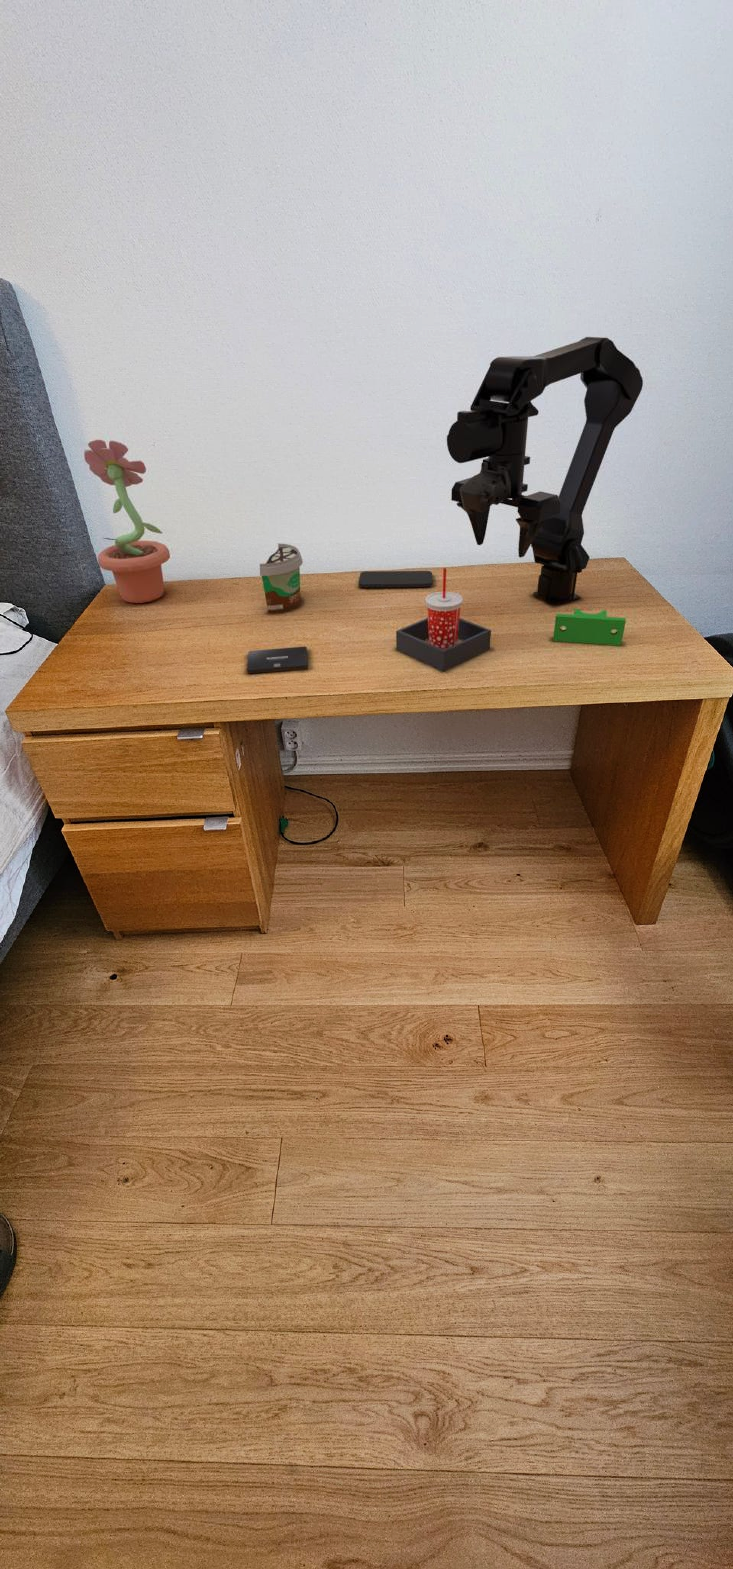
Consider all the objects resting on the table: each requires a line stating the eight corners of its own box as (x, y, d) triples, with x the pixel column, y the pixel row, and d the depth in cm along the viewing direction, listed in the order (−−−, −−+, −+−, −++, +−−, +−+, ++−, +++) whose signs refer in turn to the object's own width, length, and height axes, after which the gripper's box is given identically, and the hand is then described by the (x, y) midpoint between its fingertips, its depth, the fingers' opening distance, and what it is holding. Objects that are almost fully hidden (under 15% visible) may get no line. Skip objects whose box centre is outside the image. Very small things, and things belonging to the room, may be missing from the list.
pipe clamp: (620, 636, 119) (625, 611, 117) (620, 646, 116) (626, 620, 114) (553, 631, 122) (556, 606, 119) (552, 641, 119) (555, 615, 116)
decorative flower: (193, 585, 147) (161, 428, 129) (167, 611, 137) (128, 445, 119) (128, 583, 150) (88, 429, 132) (97, 609, 139) (49, 446, 121)
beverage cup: (440, 638, 122) (442, 559, 113) (468, 648, 118) (472, 567, 110) (417, 650, 118) (417, 569, 110) (444, 661, 115) (446, 578, 106)
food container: (296, 617, 131) (291, 565, 125) (265, 616, 133) (258, 564, 127) (313, 592, 141) (309, 543, 135) (284, 591, 142) (278, 542, 136)
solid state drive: (308, 668, 115) (307, 664, 114) (247, 673, 114) (246, 670, 114) (307, 649, 120) (306, 646, 120) (248, 654, 120) (248, 650, 119)
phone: (432, 583, 140) (358, 584, 141) (432, 587, 140) (358, 588, 141) (432, 570, 146) (360, 571, 147) (432, 574, 146) (360, 575, 147)
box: (442, 629, 125) (442, 611, 122) (489, 649, 118) (491, 630, 115) (396, 649, 119) (395, 630, 117) (443, 671, 112) (443, 652, 110)
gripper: (428, 452, 111) (427, 550, 120) (520, 470, 99) (511, 577, 109) (476, 440, 116) (472, 534, 126) (568, 456, 105) (556, 558, 114)
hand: (500, 550), depth 118 cm, fingers open, 9 cm apart
